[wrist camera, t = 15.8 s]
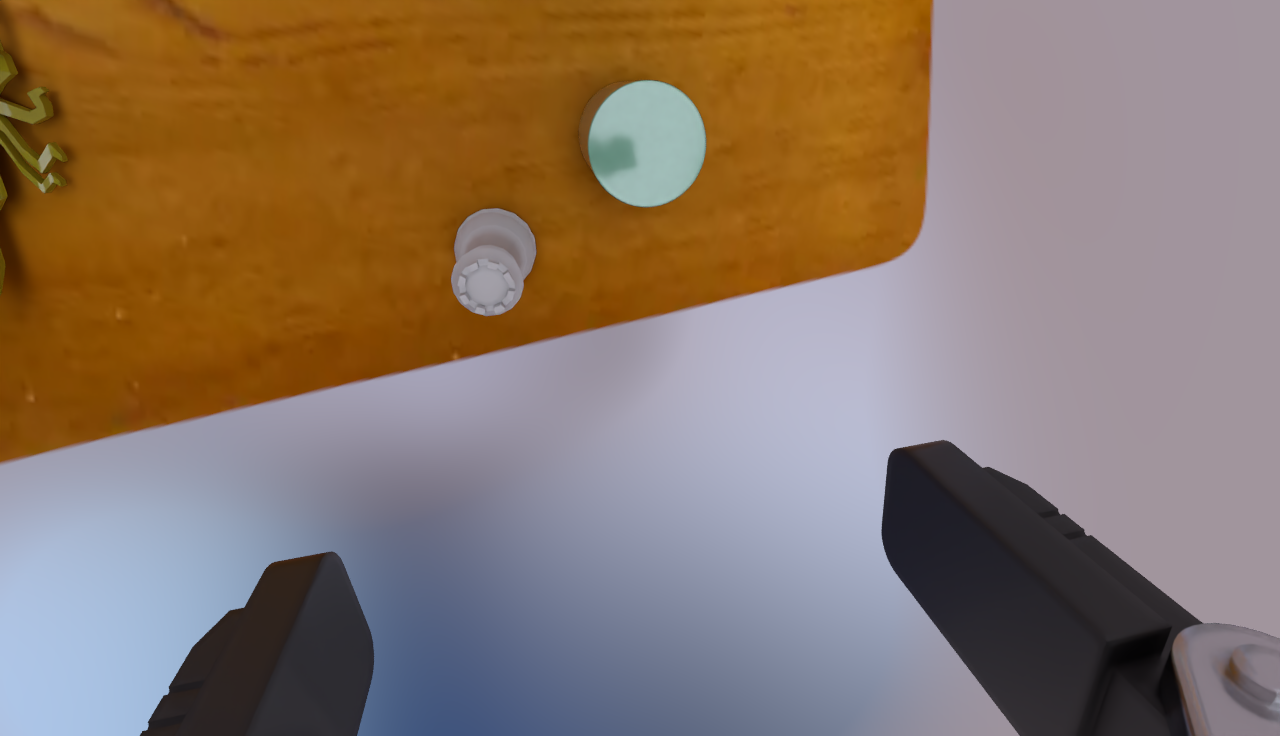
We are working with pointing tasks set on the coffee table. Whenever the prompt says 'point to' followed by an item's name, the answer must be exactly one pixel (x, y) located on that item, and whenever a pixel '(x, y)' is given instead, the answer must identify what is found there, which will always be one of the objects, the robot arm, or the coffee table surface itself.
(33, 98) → the scorpion
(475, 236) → the rook chess piece
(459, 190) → the coffee table surface
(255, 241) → the coffee table surface
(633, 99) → the mint green cylinder
